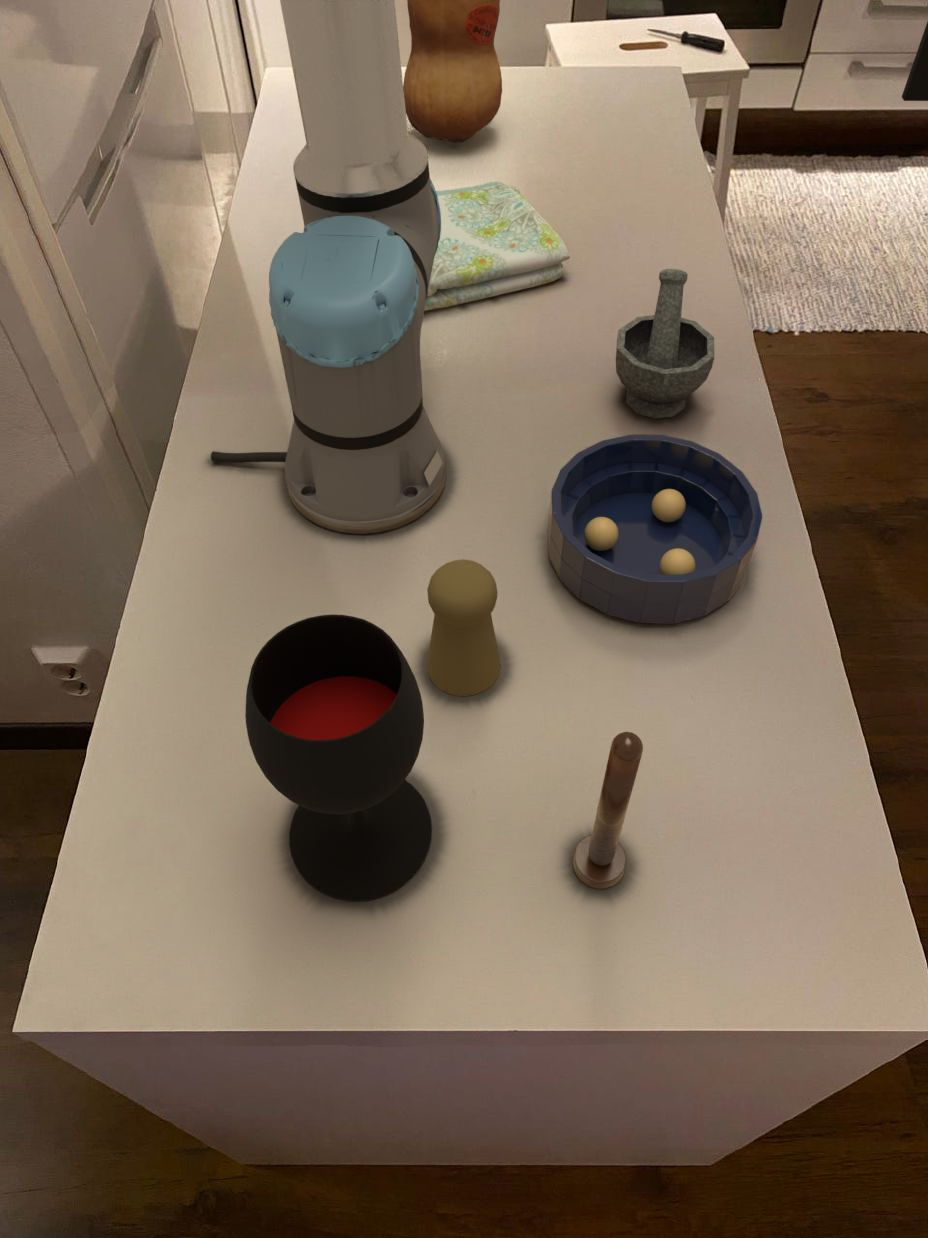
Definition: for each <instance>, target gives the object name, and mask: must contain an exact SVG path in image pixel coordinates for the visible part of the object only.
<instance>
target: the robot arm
mask: <svg viewBox="0 0 928 1238" xmlns="http://www.w3.org/2000/svg"><path fill="white" fill-rule="evenodd" d="M279 4H280V8H281V14H282V19H283V24H284V29H285V35H286V40H287V45H288V51H289V56H290V57H289V58H290V62H291V68H292V73H293V79H294V84H295V89H296V90H295V91H296V94H297V99H298V105H299V111H300V116H301V121H302V127H303V133H304V137H305V145H304V146H303V147H302V149H301V150H300V151H299V153H298V155H296V157H295V159H294V161H293V166H292V167H293V170H292V171H293V175H294V180H295V185H296V191H297V194H298V200H299V206H300V210H301V215H302V216H301V217H302V220H303V232H299V231H294V232H292V233H291V234H289V235H288V236H287V238H285V239H284V240H283V242H281V244H280V246H279V247H278V248H277V250H276V251H275V252H274V255H273V258H272V260H271V262H270V267H269V272H268V287H269V290H268V291H269V292H268V294H269V295H268V302H269V307H270V317H271V320H272V322H273V325H274V328H275V331H276V336H277V337H276V338H277V342H278V346H279V350H280V351H279V352H280V357H281V361H282V366H283V371H284V376H285V381H286V386H287V392H288V396H289V401H290V406H291V411H292V417H293V423H292V427H291V432H290V437H289V442H288V447H287V450H286V451H263V452H262V451H256V452H255V451H253V452H252V451H251V452H223V451H222V452H221V451H214V450H213V451H211V453H210V460H211V461H212V462H216V463H226V464H243V463H244V464H247V463H284V478H285V483H286V489H287V493H288V495H289V498H290V501H291V502H292V504H293V506H294V507H295V508H296V509H297V510H298V512H299V513H300V514H301V515H302V516H304V517H305V518H306V519H308V520H309V521H310V522H312V523H314V524H316V525H318V526H320V527H321V528H325V529H327V530H331V531H335V532H339V533H345V534H356V535H357V534H358V535H362V534H376V533H383V532H387V531H391V530H394V529H398V528H401V527H402V526H405V525H408V524H409V523H412V522H413V521H415V520H417V519H419V518H420V517H421V516H423V515H424V514H425V513H427V512H428V511H429V510H430V509H432V507H433V506H434V505H435V504H436V502H437V501H438V500H439V498H440V496H441V495H442V493H443V490H444V488H445V484H446V476H447V474H446V473H447V472H446V471H447V470H446V456H445V453H444V449H443V446H442V443H441V441H440V438H439V437H438V434H437V433H436V430H435V429H434V426H433V424H432V422H431V420H430V418H429V415H428V414H427V411H426V409H425V408H424V407H425V406H424V403H423V380H422V364H421V363H422V362H421V335H422V334H421V333H422V325H423V321H424V320H423V319H424V314H425V311H424V309H425V303H426V299H427V293H428V287H429V282H430V277H431V272H432V267H433V262H434V257H435V254H436V251H437V248H438V242H439V240H440V234H441V212H440V206H439V201H438V196H437V193H436V191H437V190H436V187H435V185H434V183H433V181H432V178H431V175H430V166H429V165H430V164H429V155H428V151H427V148H426V146H425V144H424V143H423V142H422V141H421V140H420V138H419V139H418V137H416V136H415V135H414V134H412V133H411V132H410V131H408V122H407V120H408V119H407V114H406V110H405V100H404V90H403V83H404V79H403V71H402V63H401V62H402V61H401V53H400V41H399V33H398V23H397V14H396V3H395V0H279ZM901 99H902V100H903V101H904V102H928V21H927V22H926V24H925V28H924V30H923V33H922V37H921V39H920V42H919V45H918V49H917V50H916V53H915V56H914V59H913V62H912V65H911V68H910V70H909V74H908V77H907V80H906V83H905V86H904V89H903V91H902V95H901Z"/></svg>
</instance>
